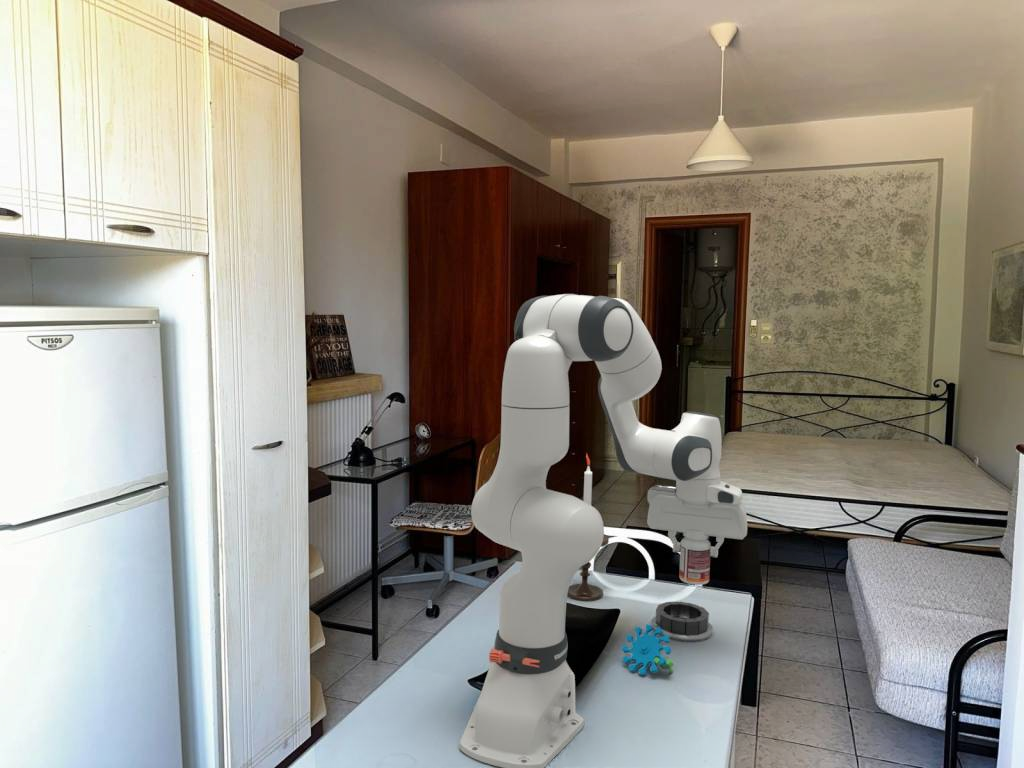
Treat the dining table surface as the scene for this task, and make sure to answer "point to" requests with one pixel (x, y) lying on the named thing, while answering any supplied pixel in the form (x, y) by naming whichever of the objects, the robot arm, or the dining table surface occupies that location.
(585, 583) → the candlestick
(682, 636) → the notched hollow ring
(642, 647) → the gear
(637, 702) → the dining table surface
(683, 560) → the pill bottle
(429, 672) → the dining table surface
